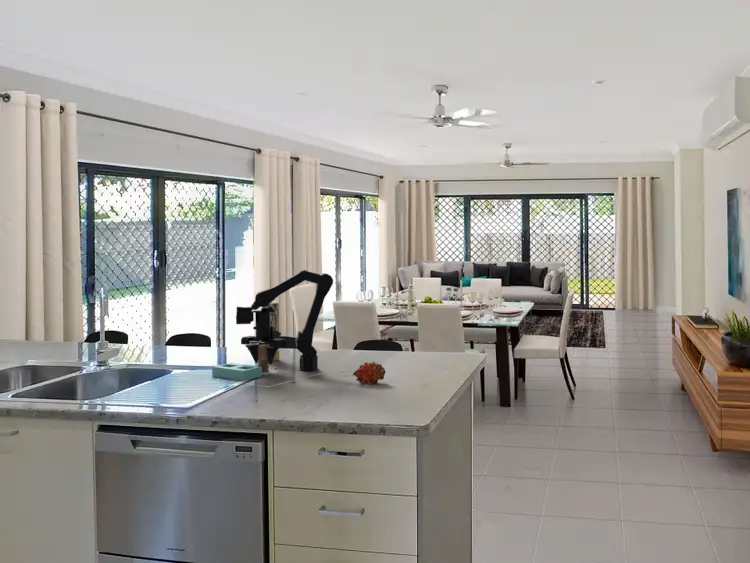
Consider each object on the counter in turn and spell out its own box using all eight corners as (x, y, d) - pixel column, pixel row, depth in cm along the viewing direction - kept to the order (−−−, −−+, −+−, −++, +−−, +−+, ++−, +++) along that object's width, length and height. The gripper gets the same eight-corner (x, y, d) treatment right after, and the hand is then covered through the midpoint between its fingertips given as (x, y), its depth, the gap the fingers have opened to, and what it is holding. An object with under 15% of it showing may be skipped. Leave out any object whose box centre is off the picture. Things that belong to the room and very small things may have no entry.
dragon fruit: (388, 387, 270) (355, 393, 269) (384, 370, 276) (352, 376, 275) (387, 371, 265) (353, 377, 263) (383, 354, 271) (350, 360, 270)
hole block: (262, 377, 283) (261, 366, 282) (243, 381, 274) (243, 370, 274) (231, 373, 291) (231, 362, 291) (212, 377, 283) (212, 366, 283)
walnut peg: (270, 371, 293) (270, 345, 292) (263, 372, 289) (263, 346, 289) (263, 370, 295) (262, 344, 294) (256, 371, 292) (255, 346, 291)
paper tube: (276, 361, 317) (275, 302, 316) (261, 361, 319) (260, 302, 317) (281, 358, 324) (280, 301, 323) (266, 358, 325) (265, 301, 324)
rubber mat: (281, 371, 294) (281, 370, 293) (264, 375, 285) (264, 374, 285) (262, 369, 299) (262, 368, 299) (245, 373, 291) (245, 372, 291)
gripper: (294, 323, 292) (295, 362, 293) (259, 320, 303) (259, 358, 304) (276, 326, 283) (276, 367, 284) (239, 323, 293) (240, 362, 294)
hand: (263, 363), depth 292 cm, fingers open, 7 cm apart
